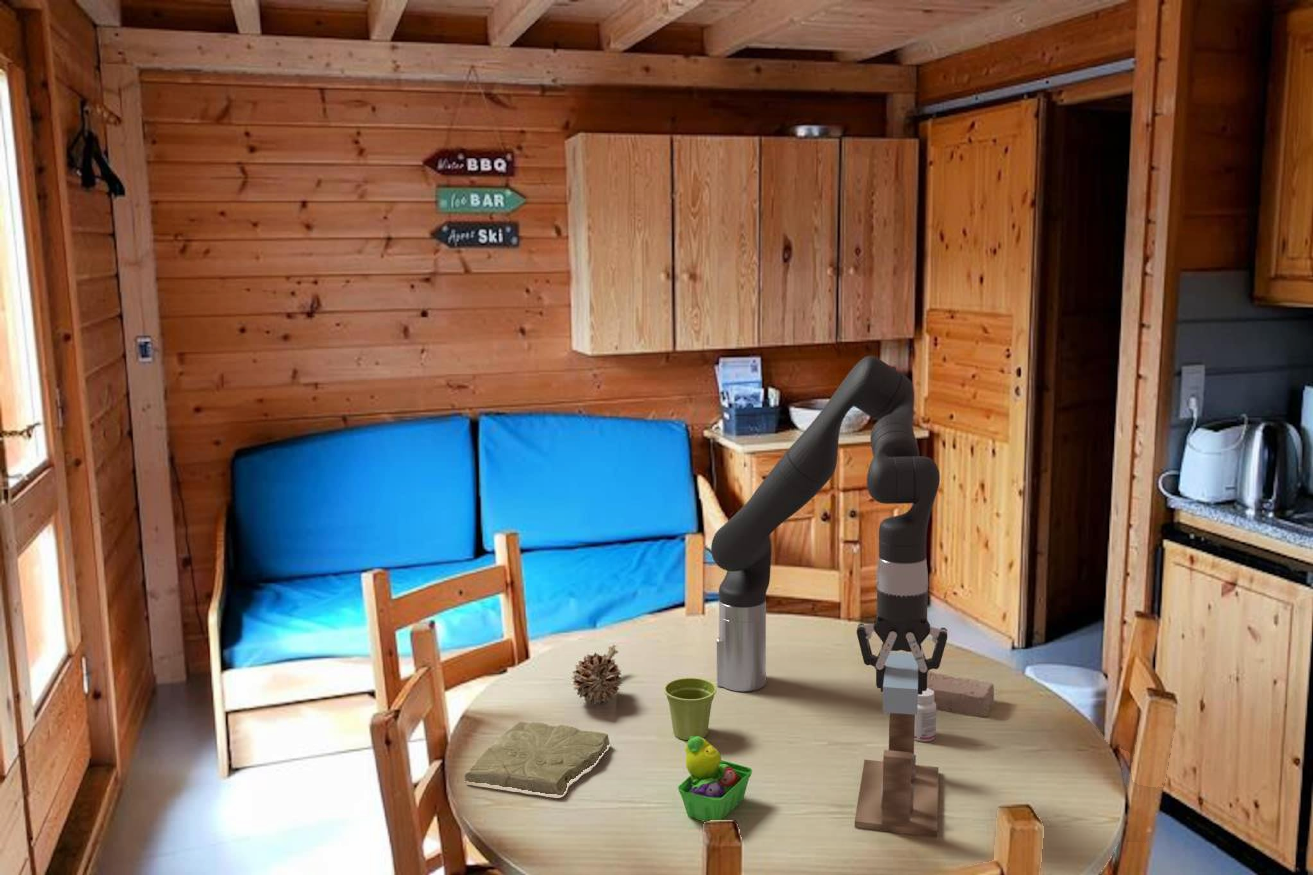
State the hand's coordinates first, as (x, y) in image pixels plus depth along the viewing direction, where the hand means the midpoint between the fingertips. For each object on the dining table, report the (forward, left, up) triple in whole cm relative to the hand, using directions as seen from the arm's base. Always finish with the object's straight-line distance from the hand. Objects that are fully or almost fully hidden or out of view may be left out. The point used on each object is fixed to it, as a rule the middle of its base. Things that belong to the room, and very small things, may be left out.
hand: (901, 690), depth 169 cm
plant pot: (-37, +15, -18) cm, 44 cm away
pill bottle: (+3, +23, -18) cm, 29 cm away
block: (0, 0, -1) cm, 1 cm away
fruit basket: (-28, -9, -18) cm, 35 cm away
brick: (+7, +39, -19) cm, 44 cm away
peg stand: (0, 0, -18) cm, 18 cm away
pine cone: (-58, +28, -18) cm, 67 cm away
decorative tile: (-59, -2, -19) cm, 62 cm away
